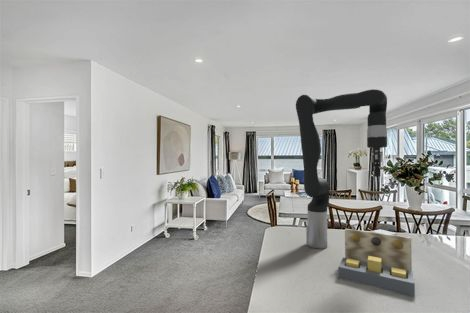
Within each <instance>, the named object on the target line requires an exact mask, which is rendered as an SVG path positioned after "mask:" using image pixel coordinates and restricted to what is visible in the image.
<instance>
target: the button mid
mask: <svg viewBox="0 0 470 313" xmlns="http://www.w3.org/2000/svg"><path fill="white" fill-rule="evenodd" d="M368 270H369V271H373V272H378V273H382V263H381V258H378V257H372V256H368Z"/></svg>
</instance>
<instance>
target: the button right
mask: <svg viewBox="0 0 470 313" xmlns="http://www.w3.org/2000/svg"><path fill="white" fill-rule="evenodd" d="M392 276H397V277H401V278H406V270H404V269H399V268H394V267H392Z"/></svg>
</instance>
